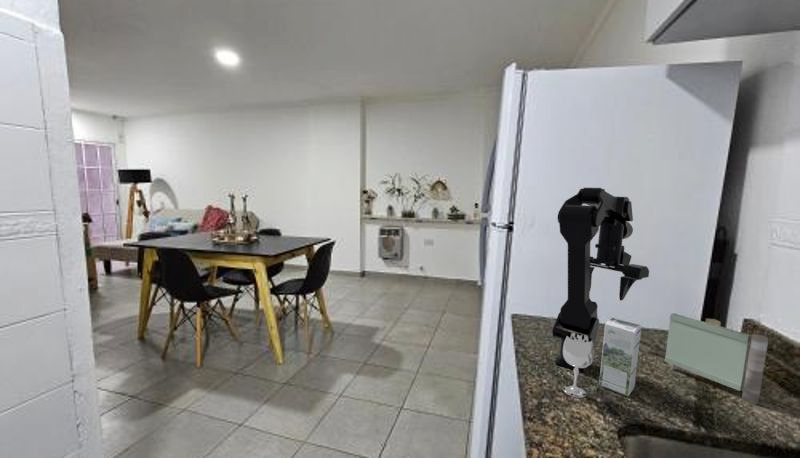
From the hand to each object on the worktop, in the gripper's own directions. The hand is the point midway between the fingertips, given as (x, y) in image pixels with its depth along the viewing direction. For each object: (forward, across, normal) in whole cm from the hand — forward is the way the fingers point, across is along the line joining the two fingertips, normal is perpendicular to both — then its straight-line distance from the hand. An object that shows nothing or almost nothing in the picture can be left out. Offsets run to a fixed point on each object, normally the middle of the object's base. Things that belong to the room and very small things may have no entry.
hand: (604, 295), depth 99 cm
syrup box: (+14, -15, +21) cm, 30 cm away
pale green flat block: (+12, -24, +1) cm, 26 cm away
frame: (+13, -27, -4) cm, 30 cm away
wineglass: (+14, -12, +31) cm, 36 cm away
